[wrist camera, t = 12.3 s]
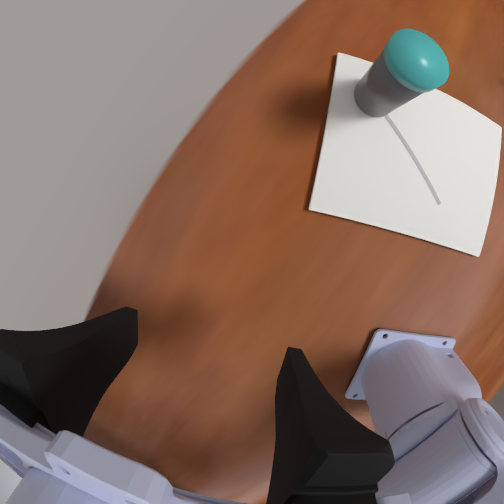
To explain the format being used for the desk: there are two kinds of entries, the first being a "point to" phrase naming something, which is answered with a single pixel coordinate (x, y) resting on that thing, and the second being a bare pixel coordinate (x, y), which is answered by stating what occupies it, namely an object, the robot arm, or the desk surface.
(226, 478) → the desk surface
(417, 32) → the marker
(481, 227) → the notepad
